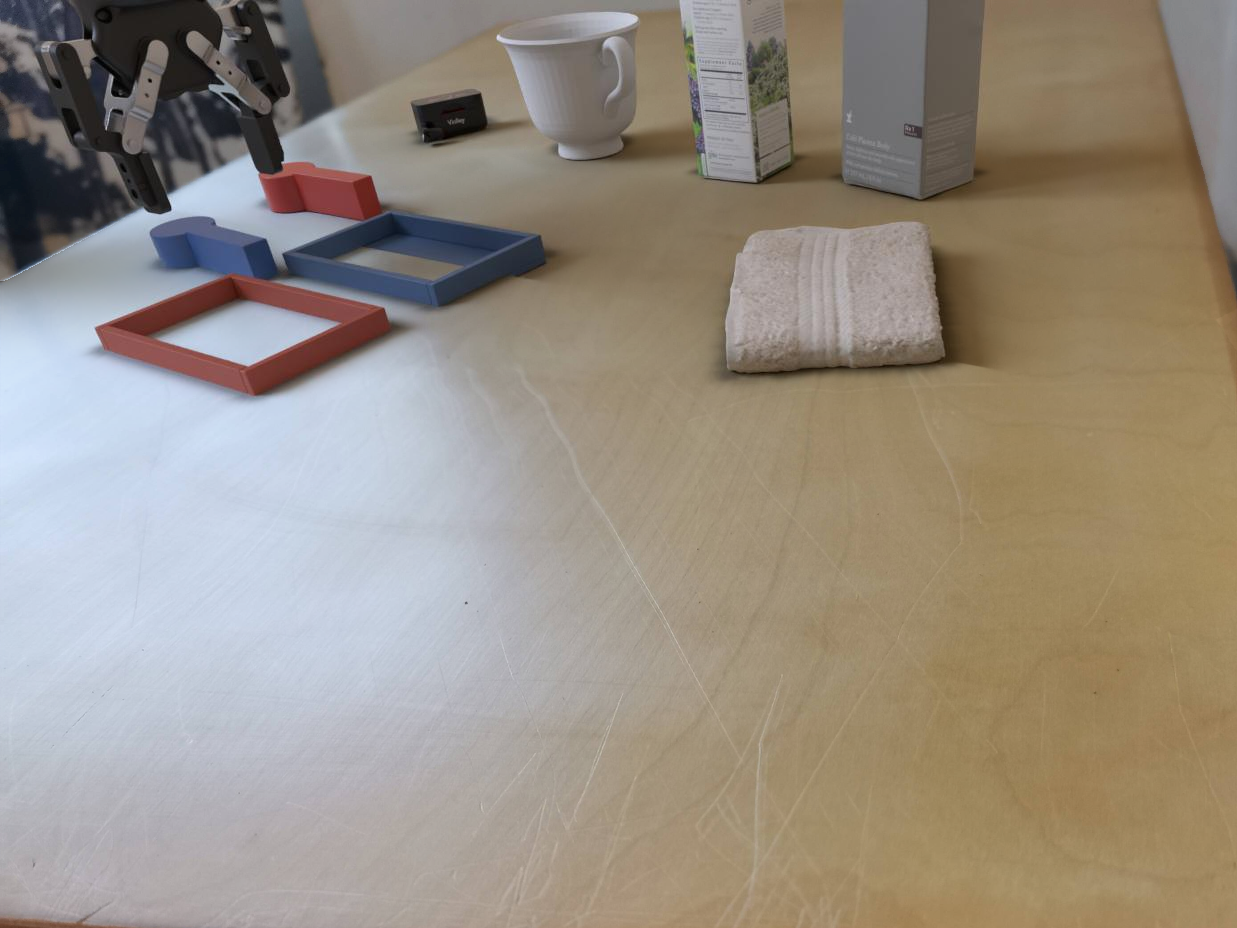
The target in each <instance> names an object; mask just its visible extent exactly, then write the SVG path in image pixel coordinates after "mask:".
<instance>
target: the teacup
mask: <svg viewBox="0 0 1237 928" xmlns="http://www.w3.org/2000/svg"><path fill="white" fill-rule="evenodd" d="M641 24H642V19H640V17H638V16H637V15H635V14H633V13H628V12H621V11H589V12H588V11H587V12H576V13H566V14H557V15H551V16H544V17H539V18H534V19H531V20H530V19H529V20H525V21H521V22H518V23H514V24H512V25H509V26H506V27H504V28H502V29H501V30H499V32H498V34H497V36H496V40H497V42H499V43H500V44H501V45H503V46H504V48H505V50H506V51H507V53H508V55H509V57H510V61H511V63H512V66H513V69H514V71H515V75H516V77H517V81H518V83H519V87H520V90H521V94H522V96H523V99H524V102H525V106H526V108H527V111H528V113H529V116H530V118H531V120H532V122H533V124H534V126H535V127H536V129H537V130H538V132H540V133H541V134H542V135H543V136H545V137H546V138H548V139H549V140H552V141H554V142H556V143H557V145H558V151H557V152H558V156H560V157H561V158H562V159H565V160H571V161H572V160H573V161H586V160H595V159H601V158H607V157H609V156H612V155H615V154H617V153H619V152H621V151H622V150H623V148H624V142H623V140H622V136H621V134H622V133H623V132H625V131H626V130H627V129H628V128H629V127H630V125H631V124H632V123H633V121H634V119H635V117H636V116H635V115H636V111H637V100H638V99H637V98H638V97H637V96H638V91H637V65H636V37H637V32H638V28H639V27H640V26H641Z"/></svg>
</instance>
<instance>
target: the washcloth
mask: <svg viewBox="0 0 1237 928" xmlns="http://www.w3.org/2000/svg"><path fill="white" fill-rule="evenodd" d="M931 241H932V237H931V232H930V227H929V226H927V225H926V224H924V223H922V222H919V221H896V222H890V223H885V224H878V225H872V226H871V225H870V226H862V227H857V228H840V227H829V226H814V225H813V226H812V225H800V226H797V227H787V228H782V229H774V230H773V229H772V230H771V229H770V230H769V229H768V230H767V229H764V230H763V229H762V230H757V231H756V232H754V233H752V234H751V235H750V236H749V237H748V238H747V241H746V243H745V245H744V246H743V250H742V252H737V253H736V255H735V265H734V273H733V279H732V282H731V286H730V288H729V292H730V293H729V305H728V307H727V312H726V316H725V320H724V321H725V322H724V325H725V326H724V327H725V328H724V330H725V335H726V338H725V340H726V342H725V352H726V364H727V366H726V367H727V369H728V370H729V371H735V372H737V373H747V374H752V373H753V374H758V373H763V372H765V373H771V372H772V373H775V372H776V373H778V372H781V371H782V372H783V371H784V372H792V371H793V372H794V371H797V370H800V369H811V368H813V369H814V368H815V369H820V368H821V369H822V368H823V369H824V368H837V367H849V368H851V369H858V368H870V367H882V366H905V365H919V364H920V365H921V364H931V363H934V362H938V361H941V360H942V359H941V358H945V357H946V352H945V351H946V350H945V347H944V343H945V342H944V341H943V337H942V331H943V328H944V327H943V326H942V324H941V316H940V313H939V312H940V307H939V305H940V303H939V298H938V297H937V292H936V285H935V283H936V282H937V279H936V278H937V275H936V274H935V273H934V270H935V267H934V261H933V256H932V255H933V254H932V253H933V250H932V247H931V246H932V244H931Z"/></svg>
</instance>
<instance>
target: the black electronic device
mask: <svg viewBox="0 0 1237 928" xmlns="http://www.w3.org/2000/svg"><path fill="white" fill-rule="evenodd" d="M410 106H411V109H412V113H413V117H414V120H415V125H416V128H417V129H416V130H417V132H418V134H419V135H420V139H421V142H423V143H425V144H432V143H435V142H438V141H441V140H442V139H445V138H448V137H449V138H450V137H454V136H458V135H462V134H466V133H472V132H477V131H480V130H484V129H486V128H488V125H489V121H488V120H489V119H488V117H487V116H488V115H487V112H486V108H485V103H484V98H483V94H482V92H481V91H480V90H479V89H475V88H467V89H462V90H457V91H453V92H452V91H451V92H448V93H444V94H437V95H432V96H427V97H423V98H417V99H413V100H411V101H410Z"/></svg>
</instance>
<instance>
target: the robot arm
mask: <svg viewBox="0 0 1237 928" xmlns="http://www.w3.org/2000/svg"><path fill="white" fill-rule="evenodd" d="M69 1H70V3H71V5H72V6H73V8H74V10H75V11H76V14H78V17H79V19H80V21H81V22H80V23H81V25H82V26H81V27H82V38H80V39H72V40H67V41H54V40H47V41H43V40H41V41H38V42H37V43H36V44H35V45H34V49H33V51H34V55H35V57H36V60H37V63H38V65H39V67H40V71H41V73H42V75H43V78H44V80H45V83H46V85H47V88H48V91H49V93H50V96H51V98H52V101H53V104H54V106H55V108H56V111H57V113H58V116H59V119H60V121H61V123H62V127H63V129H64V131H65V134H66V136H67V139H68V142H69V143H70V145H71V146H72V147H74V148H76V149H78V150H86V151H92V152H97V153H106V154H107V155H109V156H110V157H111V158H112V159H113V161H114V163H115V166H116V168H117V171H118V173H119V175H120V176H121V177H120V178H121V179H122V182H123V184H124V187H125V188H126V191H127V193H128V195H129V197H130V199H131V201H132V202H133V203H134V204H135V205H136V206H137V207H143V209H144V210H145V211H146V212H147V213H148V214H153V215H154V214H155V215H160V216H161V215H164V214H166V213H169V212H172V210H173V209H172V204H171V202H170V199H169V197H168V195H167V191H166V190H165V187H164V184H163V183H162V180H161V177H160V176H159V173H158V171H157V168H156V166H155V164H154V161H153V159H152V156H151V154H150V152H149V151H143V145H144V140H145V137H146V130H147V127H148V122H149V120H152V118H153V117H154V114H155V109H156V105H157V102H168V101H172V100H176V99H178V98H180V97H181V96H182V95H184V94H185V93H188V92H189V93H201V92H203V91H208V90H209V91H211V92H214V93H216V94H218V96H220V97H221V98H222V99H223V100H224V101H226V102H227V103H228V104H230V105H231V106H232V107H233V108H234V109H236V111H238V112H240V115H238V116H236V119H237V122H238V126H239V127H240V130H241V132H242V136H243V138H244V140H245V141H244V142H245V143H246V147H247V149H248V152H249V155H250V157H251V160H252V162H253V165H254V168H255V169H256V171H257V172H258V173H262V174H269V175H274V174H277V173H280V172H282V171H283V166H282V164H283V162H285V152H284V149H283V145H282V143H281V140H280V138H279V134H278V132H277V129H276V126H275V123H274V120H273V118H272V117H273V116H272V107H273V106H274V104H275V103H276V102H278V101H279V100H280V99H281V98H287V97H288V96H289V95H290V94H291V86H290V83H289V80H288V77H287V75H286V72H285V70H284V68H283V65H282V63H281V60H280V57H279V54H278V52H277V50H276V47H275V44H274V41H273V39H272V37H271V34H270V31H269V29H268V26H267V23H266V21H265V19H264V16H263V14H262V10H261V8H260V6H259V4H258V3H257V2H256V1H254V0H223V1H222V2H221V5H219V6H218V7H213V6H212V5H211V3H210V2H209V1H208V0H69ZM223 32H224V33H225V35H226V36H227V37H228V38H229V39H230V40H232V41H233V42H234V45H235V47H236V50H237V52H238V55H239V57H240V59H241V62H242V64H243V67H244V69H245V72H246V74H247V75H246V74H245V73H244V72H243V71H242V70H241V69H240V68H238V67H237V66H236V65H235V64H234V63H233V62H231V60H229V59H228V58H227V57H226V56H225V55H223V54H222V53H221V52H220V47H221V43H222V37H223ZM92 61H94V62H95V63H96V64H97V65H98V66H100V68H102V69H103V70H104V71H106V72H107V73H108V74H109V75H108V79H107V84H106V89H105V93H104V100H103V108H104V109H105V116H104V120H103V118H102V114H101V112H100V109H99V107H98V103H97V101H96V99H95V96H94V94H93V90H92V87H91V85H90V82H89V79H90V78H91V77H92V67H91V63H92Z"/></svg>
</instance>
